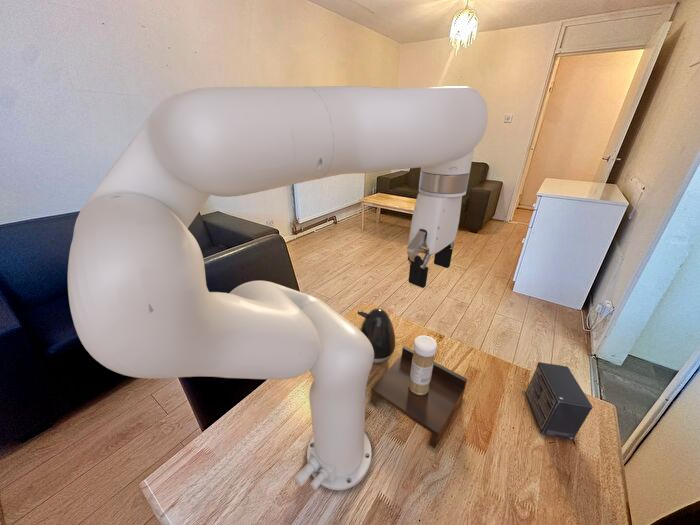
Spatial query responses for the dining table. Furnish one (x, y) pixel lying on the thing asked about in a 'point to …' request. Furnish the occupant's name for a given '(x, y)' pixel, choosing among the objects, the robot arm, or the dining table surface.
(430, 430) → the shelf
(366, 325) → the pump dispenser
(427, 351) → the sprinkles bottle
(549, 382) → the small box
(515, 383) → the dining table surface
